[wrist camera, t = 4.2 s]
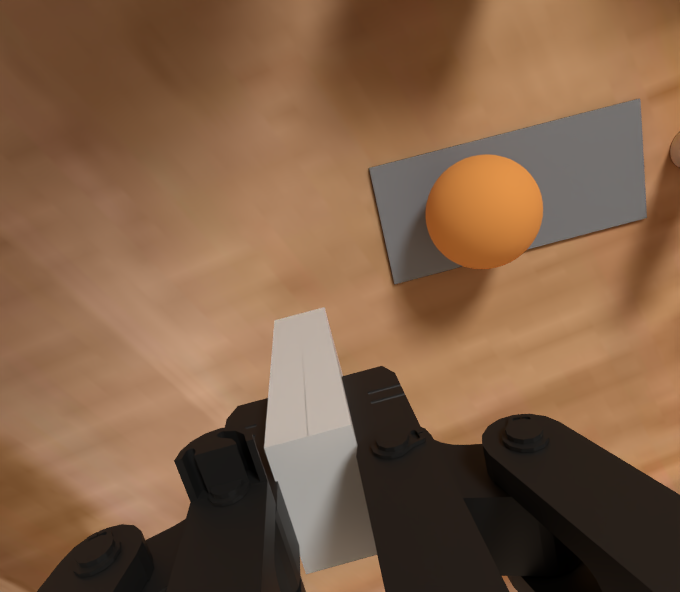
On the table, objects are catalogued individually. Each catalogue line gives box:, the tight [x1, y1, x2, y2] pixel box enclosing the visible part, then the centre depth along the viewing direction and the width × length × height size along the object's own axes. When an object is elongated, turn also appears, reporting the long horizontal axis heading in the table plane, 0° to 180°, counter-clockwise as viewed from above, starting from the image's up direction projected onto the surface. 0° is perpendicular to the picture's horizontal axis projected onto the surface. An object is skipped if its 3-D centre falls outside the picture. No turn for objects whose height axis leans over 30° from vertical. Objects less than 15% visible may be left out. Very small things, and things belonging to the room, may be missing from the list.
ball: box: [425, 154, 543, 269], centre depth 27 cm, size 6×6×6 cm
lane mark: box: [369, 99, 647, 284], centre depth 30 cm, size 16×7×1 cm, turn 104°
